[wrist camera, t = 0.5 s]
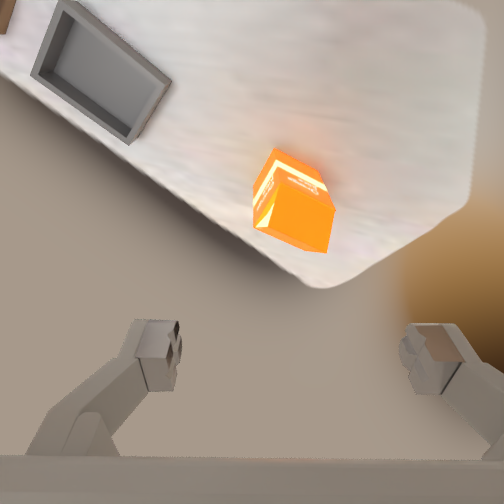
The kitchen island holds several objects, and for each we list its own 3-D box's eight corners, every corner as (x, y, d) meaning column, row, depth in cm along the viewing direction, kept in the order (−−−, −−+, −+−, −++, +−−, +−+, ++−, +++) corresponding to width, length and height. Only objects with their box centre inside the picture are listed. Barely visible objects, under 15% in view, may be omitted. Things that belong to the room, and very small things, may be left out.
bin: (47, 71, 47) (29, 75, 43) (76, 0, 42) (59, -2, 38) (137, 137, 52) (128, 145, 48) (172, 81, 47) (165, 85, 44)
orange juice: (274, 146, 53) (283, 200, 36) (318, 170, 55) (346, 230, 39) (252, 186, 57) (252, 250, 40) (294, 207, 59) (311, 275, 43)
